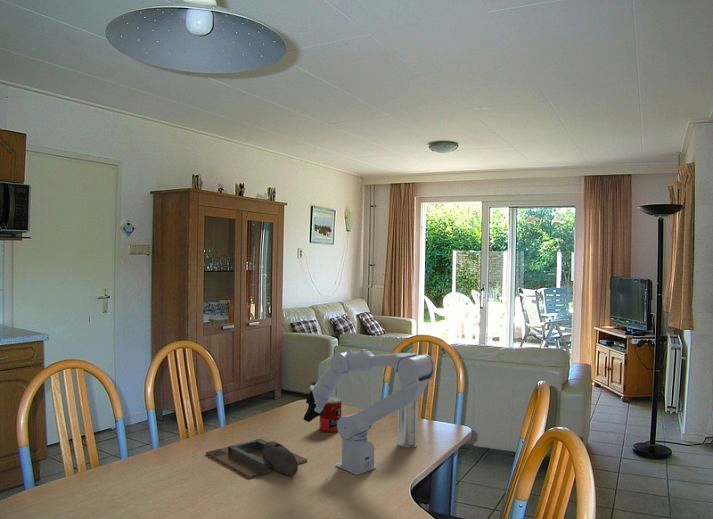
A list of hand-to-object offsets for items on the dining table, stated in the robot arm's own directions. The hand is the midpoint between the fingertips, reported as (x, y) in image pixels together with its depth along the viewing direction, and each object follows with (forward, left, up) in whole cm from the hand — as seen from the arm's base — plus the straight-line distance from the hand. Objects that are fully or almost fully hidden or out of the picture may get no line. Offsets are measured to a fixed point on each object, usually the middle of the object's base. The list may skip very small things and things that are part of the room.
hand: (307, 411), depth 176 cm
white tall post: (-16, -30, -13) cm, 36 cm away
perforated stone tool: (-8, +15, -13) cm, 21 cm away
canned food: (+13, -21, -13) cm, 28 cm away
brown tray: (+6, +15, -13) cm, 21 cm away
